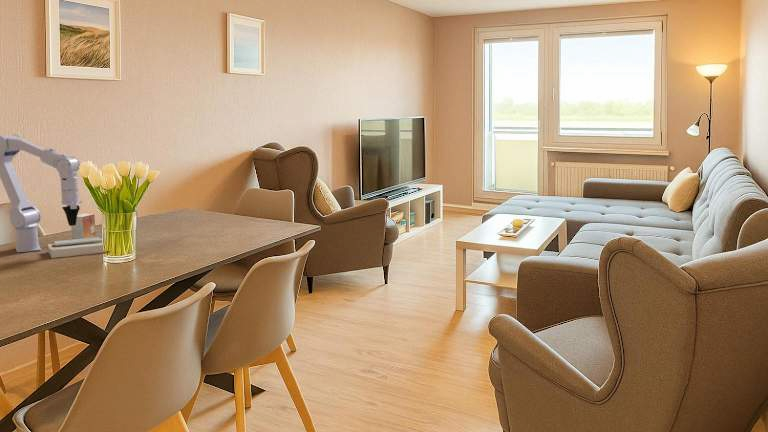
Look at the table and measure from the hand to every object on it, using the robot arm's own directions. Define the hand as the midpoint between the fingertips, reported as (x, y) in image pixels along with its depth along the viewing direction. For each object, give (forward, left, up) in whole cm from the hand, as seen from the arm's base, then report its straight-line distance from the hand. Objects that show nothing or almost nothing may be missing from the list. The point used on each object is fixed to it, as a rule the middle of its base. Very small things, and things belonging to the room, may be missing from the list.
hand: (72, 225), depth 240 cm
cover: (-1, +2, -7) cm, 7 cm away
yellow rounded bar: (-1, +3, -9) cm, 9 cm away
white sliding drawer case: (+1, +2, -10) cm, 11 cm away
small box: (-22, +7, -11) cm, 25 cm away
